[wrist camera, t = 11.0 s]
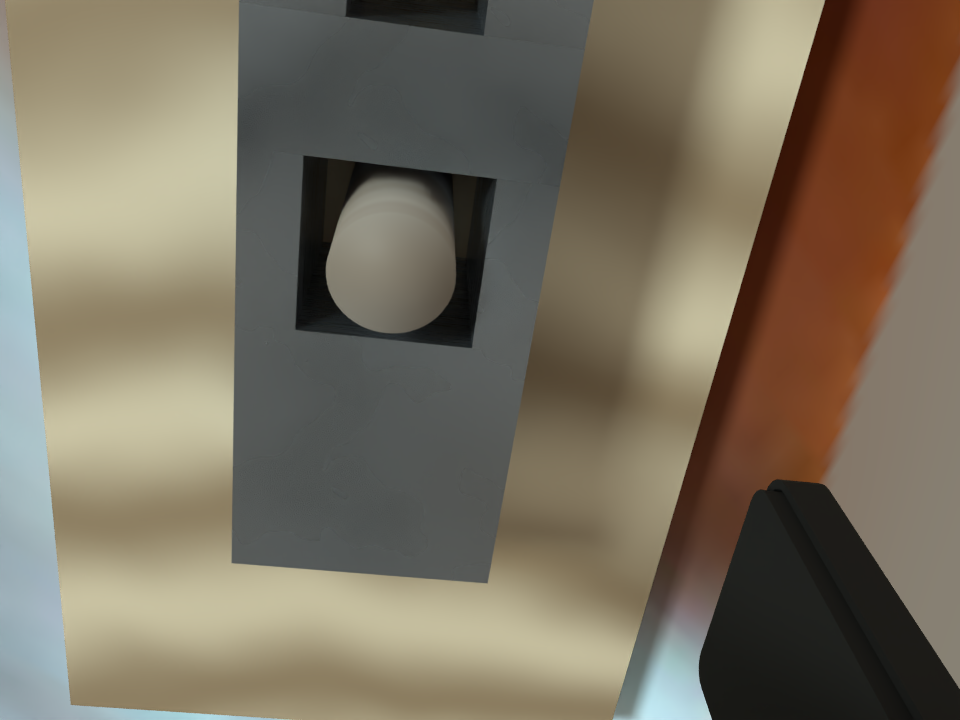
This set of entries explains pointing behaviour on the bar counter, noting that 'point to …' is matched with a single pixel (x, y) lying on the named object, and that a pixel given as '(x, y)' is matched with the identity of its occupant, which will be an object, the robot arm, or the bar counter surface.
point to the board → (178, 367)
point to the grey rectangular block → (370, 354)
